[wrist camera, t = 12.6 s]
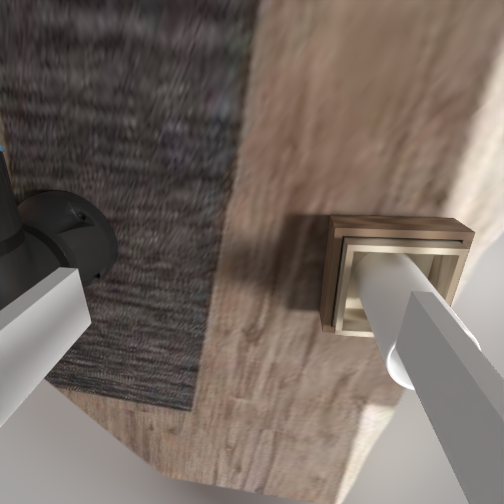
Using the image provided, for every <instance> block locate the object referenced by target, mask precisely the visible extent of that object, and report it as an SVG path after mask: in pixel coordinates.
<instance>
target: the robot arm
mask: <svg viewBox="0 0 504 504" xmlns="http://www.w3.org/2000/svg"><path fill="white" fill-rule="evenodd" d="M3 152H5V151H4V148H3V146H2V145H0V427H1V426H2V425H3V424H4V423H5V422H6V421H7V419H8V418H9V417H10V416H11V415H12V414H13V412H14V411H15V410H16V409H17V408H18V407H19V406H20V405H21V403H22V402H23V401H24V400H25V399H26V397H27V396H28V395H29V394H30V393H31V392H32V391H33V390H34V388H35V387H36V386H37V385H38V384H39V383H40V381H41V380H42V379H43V378H44V377H45V376H46V375H47V374H48V372H49V371H50V370H51V369H52V368H53V367H54V365H55V364H56V363H57V362H58V361H59V360H60V359H61V357H62V356H63V355H64V354H65V353H66V352H67V351H68V349H69V348H70V347H71V346H72V345H73V344H74V343H75V341H76V340H77V339H78V338H79V337H80V336H81V334H82V333H83V332H84V331H85V330H86V329H87V328H88V326H89V325H90V324H91V320H90V316H89V312H88V308H87V304H86V300H85V296H84V292H83V288H84V287H87V286H89V285H92V284H94V283H96V282H97V281H99V280H100V279H101V278H102V277H104V276H105V275H106V274H107V273H108V272H109V271H110V270H111V268H112V267H113V265H114V263H115V261H116V257H117V241H116V237H115V234H114V231H113V229H112V227H111V225H110V223H109V222H108V220H107V219H106V218H105V216H104V215H103V214H102V213H101V212H100V211H99V210H98V209H97V208H96V207H95V206H94V205H93V204H91V203H90V202H88V201H87V200H85V199H84V198H82V197H80V196H77V195H75V194H72V193H69V192H65V191H46V192H42V193H40V194H37V195H34V196H31V197H29V198H27V199H26V200H24V201H23V202H21V203H20V204H19V205H18V206H17V204H16V201H15V197H14V194H13V190H12V186H11V182H10V178H9V174H8V170H7V166H6V162H5V159H4V155H3ZM395 348H396V350H397V352H398V355H399V357H400V359H401V361H402V363H403V365H404V367H405V369H406V371H407V374H408V376H409V378H410V380H411V382H412V384H413V386H414V388H415V391H416V393H417V395H418V397H419V399H420V401H421V403H422V405H423V407H424V409H425V412H426V414H427V416H428V418H429V420H430V422H431V424H432V426H433V429H434V430H435V433H436V435H437V437H438V439H439V441H440V443H441V445H442V448H443V450H444V452H445V454H446V456H447V458H448V460H449V462H450V464H451V467H452V469H453V470H454V473H455V475H456V477H457V479H458V481H459V483H460V486H461V488H462V490H463V492H464V494H465V496H466V498H467V500H468V502H469V504H504V380H503V378H502V377H501V376H500V374H499V373H498V372H497V371H496V370H495V368H494V367H493V366H492V365H491V363H490V362H489V361H488V360H487V359H486V357H485V356H484V355H483V354H482V352H481V351H480V350H479V349H478V347H477V346H476V345H475V344H474V342H473V341H472V340H471V339H470V338H469V336H468V335H467V334H466V333H465V331H464V330H463V329H462V328H461V327H460V325H459V324H458V323H457V322H456V320H455V319H454V318H453V317H452V315H451V314H450V313H449V312H448V311H447V309H446V308H445V307H444V306H443V304H442V303H441V302H440V301H439V299H438V298H437V297H436V296H435V295H434V293H433V292H422V291H411V294H410V298H409V301H408V304H407V308H406V311H405V315H404V318H403V321H402V325H401V328H400V331H399V335H398V338H397V341H396V345H395Z"/></svg>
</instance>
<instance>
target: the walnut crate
mask: <svg viewBox="0 0 504 504" xmlns="http://www.w3.org/2000/svg"><path fill="white" fill-rule="evenodd" d="M474 235H475V232H474V231H472V230H471V229H469V228H468V227H466V226H465V225H463V224H462V223H460V222H459V221H457V220H456V219H455V218H426V217H391V216H356V215H330V220H329V229H328V238H327V247H326V256H325V265H324V274H323V283H322V292H321V301H320V310H319V312H320V318H321V324H322V330H323V332H332V333H334V328H333V323H332V312H333V305H334V297H335V290H336V282H337V275H338V267H339V260H340V252H341V245H342V237H343V236H363V237H392V238H421V239H450V240H458V241H459V242H461V243H462V244H463V245H464V246H466V247H467V248H468V249H469V250H470V247H471V244H472V241H473V238H474ZM468 253H469V252H468ZM467 256H468V255H467ZM466 259H467V258H466ZM465 262H466V261H465ZM464 265H465V264H464ZM463 268H464V267H463ZM462 271H463V270H462ZM461 274H462V273H461ZM460 277H461V276H460ZM459 280H460V279H459ZM458 283H459V282H458ZM457 286H458V285H457ZM456 289H457V288H456ZM455 292H456V291H455ZM454 295H455V294H454ZM453 298H454V297H453ZM452 301H453V300H452ZM451 304H452V303H451ZM450 307H451V306H450Z"/></svg>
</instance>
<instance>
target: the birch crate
mask: <svg viewBox="0 0 504 504" xmlns="http://www.w3.org/2000/svg"><path fill="white" fill-rule="evenodd" d="M371 252H387V253H405V254H406V255H408V256H409V257H410V258H411V260H412V261H413V262H414V263H415V265H416V266H417V267H418V268H419V269H420V271H421V272H422V273H423V274H424V276H425V277H426V278H427V279H428V281H429V282H430V283H431V284H432V285H433V287H434V288H435V289H436V290H437V292H438V293H439V294H440V295H441V296H442V298H443V299H444V300H445V301H446V303H447V304H448V305H449V306H451V303H452V300H453V297H454V294H455V291H456V288H457V285H458V282H459V279H460V276H461V273H462V270H463V267H464V264H465V261H466V258H467V255H468V252H469V249H468V248H467V247H466V246H464V245H463V244H462V243H461V242H459V241H458V240H450V239H421V238H392V237H363V236H343V237H342V245H341V252H340V260H339V267H338V275H337V282H336V290H335V297H334V305H333V312H332V323H333V328H334V333H335V335H347V336H362V337H374V335H373V332H372V329H371V327H370V324H369V321H368V319H367V316H366V314H365V311H364V308H363V306H362V303H361V300H360V298H359V295H358V293H357V290H356V287H355V285H354V281H353V273H354V270H355V267H356V265H357V264H358V262H359V261H360V260H361V259H362V258H363V257H364V256H366V255H367V254H369V253H371Z"/></svg>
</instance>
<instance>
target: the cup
mask: <svg viewBox="0 0 504 504" xmlns="http://www.w3.org/2000/svg"><path fill="white" fill-rule="evenodd" d="M353 281H354V285H355V287H356V290H357V293H358V295H359V298H360V300H361V303H362V306H363V308H364V311H365V314H366V316H367V319H368V321H369V324H370V327H371V329H372V332H373V335H374V337H375V340H376V342H377V345H378V348H379V350H380V353H381V355H382V358H383V361H384V363H385V366H386V368H387V371H388V372H389V374H390V376H391V377H392V379H393V380H394V381H396V382H397V383H398V384H400V385H401V386H403V387H405V388H408V389H411V390H415V388H414V386H413V384H412V382H411V380H410V378H409V376H408V374H407V371H406V369H405V367H404V365H403V363H402V361H401V359H400V357H399V355H398V352H397V350H396V348H395V345H396V341H397V338H398V335H399V331H400V328H401V325H402V321H403V318H404V315H405V311H406V308H407V304H408V301H409V298H410V294H411V291H422V292H433V293H434V295H435V296H436V297H437V298H438V299H439V301H440V302H441V303H442V304H443V306H444V307H445V308H446V309H447V311H448V312H449V313H450V314H451V315H452V317H453V318H454V319H455V320H456V322H457V323H458V324H459V325H460V327H461V328H462V329H463V330H464V331H465V333H466V334H467V335H468V336H469V338H470V339H471V340H472V341H473V342H474V344H475V345H476V346H477V347H478V349H479V350H480V351H481V349H480V346H479V344H478V342H477V340H476V339H475V337H474V336H473V335H472V333H471V332H470V331H469V330H468V328H467V327H466V326H465V325H464V323H463V322H462V321H461V320H460V319H459V317H458V316H457V315H456V314H455V312H454V311H453V310H452V309H451V307H450V306H449V305H448V304H447V303H446V301H445V300H444V299H443V298H442V296H441V295H440V294H439V293H438V292H437V290H436V289H435V288H434V287H433V285H432V284H431V283H430V282H429V281H428V279H427V278H426V277H425V276H424V274H423V273H422V272H421V271H420V269H419V268H418V267H417V266H416V265H415V263H414V262H413V261H412V260H411V258H410V257H409V256H408V255H406V254H405V253H387V252H371V253H369V254H367V255H366V256H364V257H363V258H362V259H361V260H360V261H359V262H358V264H357V265H356V267H355V270H354V273H353Z"/></svg>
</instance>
